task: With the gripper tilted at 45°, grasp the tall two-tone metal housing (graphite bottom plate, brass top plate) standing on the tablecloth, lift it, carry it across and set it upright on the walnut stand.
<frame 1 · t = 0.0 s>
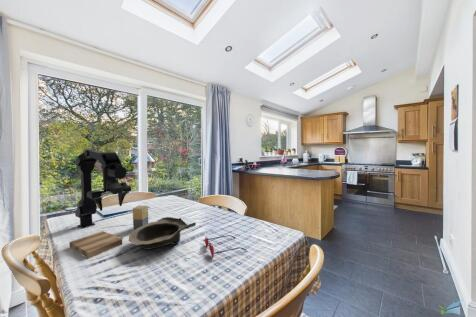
hand: (111, 208, 104), 15 cm above the table, tool pointing down, fingers open, 9 cm apart
stone bowl: (158, 244, 97), on the table
walnut stand: (96, 245, 95), on the table
housing: (141, 228, 115), on the table
glasses: (225, 249, 92), on the table
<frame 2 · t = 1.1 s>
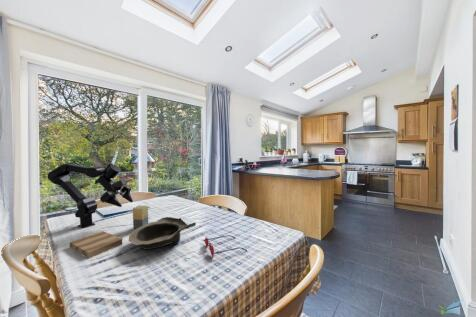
hand: (127, 204, 115), 13 cm above the table, tool tilted 45°, fingers open, 9 cm apart
nothing on the table moved.
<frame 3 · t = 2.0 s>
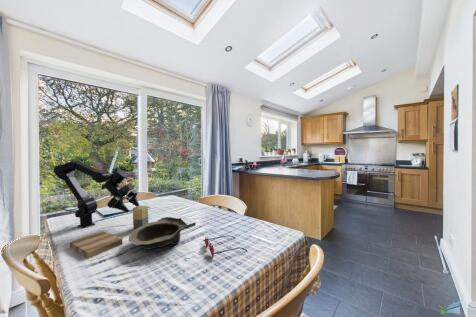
hand: (133, 209, 115), 11 cm above the table, tool tilted 45°, fingers open, 9 cm apart
nothing on the table moved.
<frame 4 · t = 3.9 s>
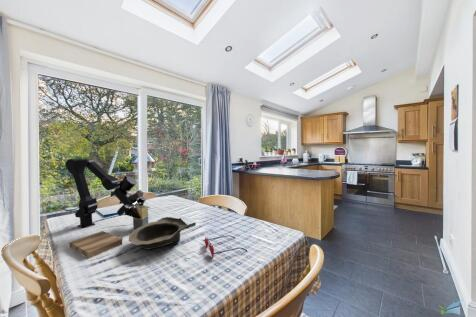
hand: (143, 216, 114), 7 cm above the table, tool tilted 45°, fingers closed on housing, 5 cm apart
housing: (141, 228, 115), on the table, touching gripper
everything else where it was.
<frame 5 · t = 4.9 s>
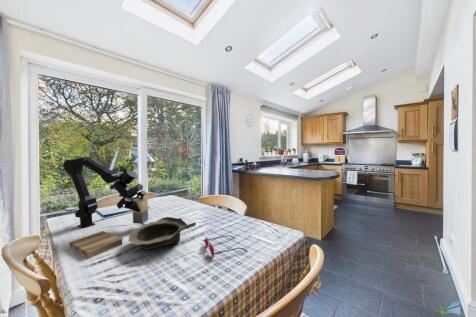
hand: (142, 210, 114), 10 cm above the table, tool tilted 45°, fingers closed on housing, 5 cm apart
housing: (140, 221, 115), point 4 cm above the table, touching gripper
everything else where it was.
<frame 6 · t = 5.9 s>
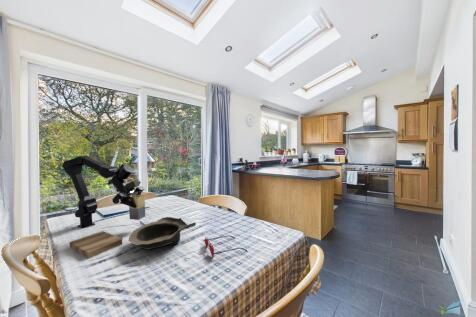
hand: (139, 206, 111), 13 cm above the table, tool tilted 45°, fingers closed on housing, 5 cm apart
housing: (137, 217, 112), point 7 cm above the table, touching gripper
everything else where it was.
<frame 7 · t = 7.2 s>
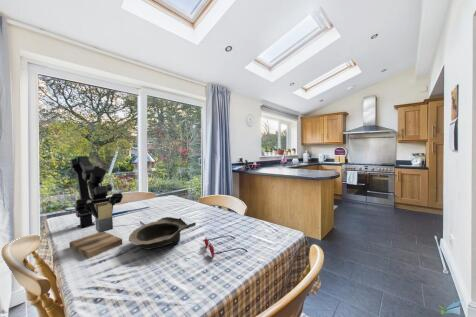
hand: (104, 216, 96), 13 cm above the table, tool tilted 45°, fingers closed on housing, 5 cm apart
housing: (104, 229, 97), point 7 cm above the table, touching gripper
everything else where it was.
when the fingers open (10 cm above the table, at t = 8.8 s): housing drops 1 cm, resting on walnut stand.
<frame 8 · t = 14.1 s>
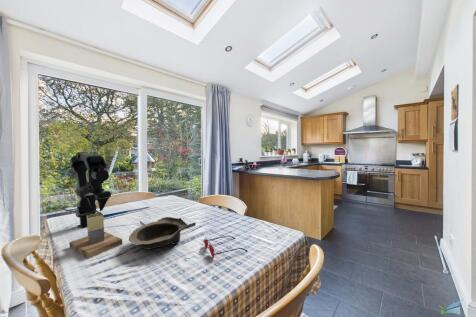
hand: (96, 209, 107), 13 cm above the table, tool pointing down, fingers open, 9 cm apart
housing: (96, 240, 95), point 2 cm above the table, touching walnut stand
everything else where it was.
at the end: housing inside the target area on the walnut stand (0.1 cm from its centre), point 2.5 cm above the walnut stand's base; housing tilted 0°; the gripper is holding nothing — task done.
